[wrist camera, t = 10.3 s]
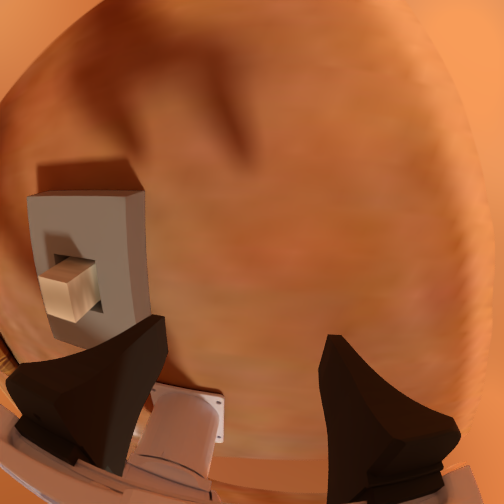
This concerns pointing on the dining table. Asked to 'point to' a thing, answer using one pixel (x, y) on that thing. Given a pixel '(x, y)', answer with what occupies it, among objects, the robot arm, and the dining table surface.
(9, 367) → the croissant
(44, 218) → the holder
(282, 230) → the dining table surface
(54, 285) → the peg
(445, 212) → the dining table surface
